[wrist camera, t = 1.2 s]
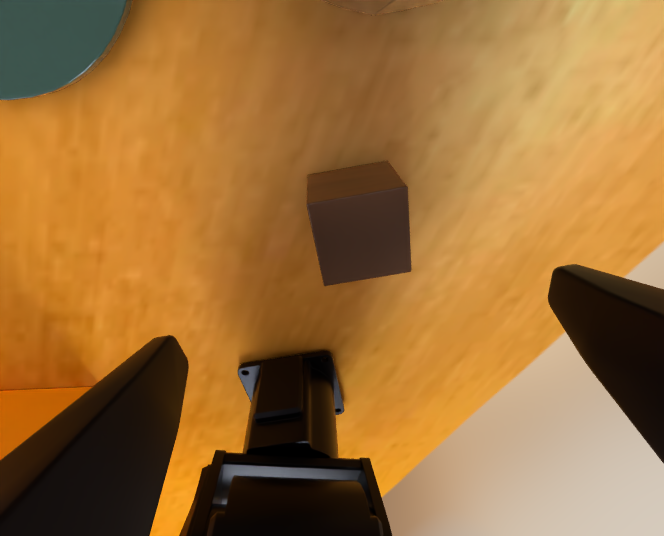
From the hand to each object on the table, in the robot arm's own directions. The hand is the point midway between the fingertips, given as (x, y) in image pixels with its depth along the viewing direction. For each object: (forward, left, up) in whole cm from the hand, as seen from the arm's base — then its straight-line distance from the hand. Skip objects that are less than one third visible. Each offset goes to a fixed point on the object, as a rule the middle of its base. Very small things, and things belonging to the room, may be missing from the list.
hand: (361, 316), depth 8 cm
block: (-1, -1, -10) cm, 11 cm away
